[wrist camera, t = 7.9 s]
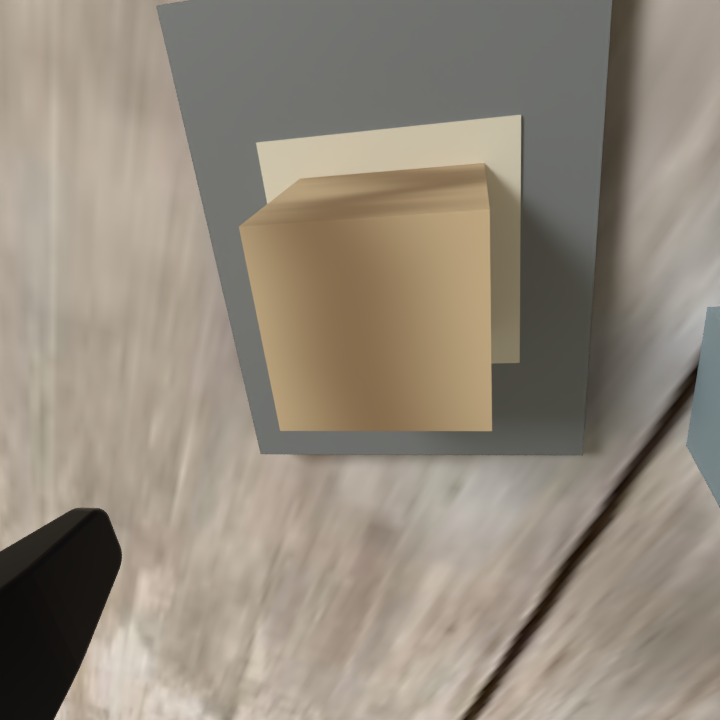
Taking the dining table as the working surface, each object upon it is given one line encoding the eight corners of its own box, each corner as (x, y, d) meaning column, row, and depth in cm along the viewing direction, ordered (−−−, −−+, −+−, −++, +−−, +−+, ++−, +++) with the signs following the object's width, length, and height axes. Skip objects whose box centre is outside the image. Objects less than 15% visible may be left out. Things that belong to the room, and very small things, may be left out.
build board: (606, -60, 14) (617, -68, 13) (577, 434, 20) (583, 457, 19) (176, 8, 16) (154, 5, 15) (270, 435, 22) (259, 455, 21)
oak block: (484, 163, 16) (489, 209, 11) (486, 336, 18) (492, 431, 13) (300, 178, 16) (238, 226, 12) (324, 340, 19) (280, 430, 14)
